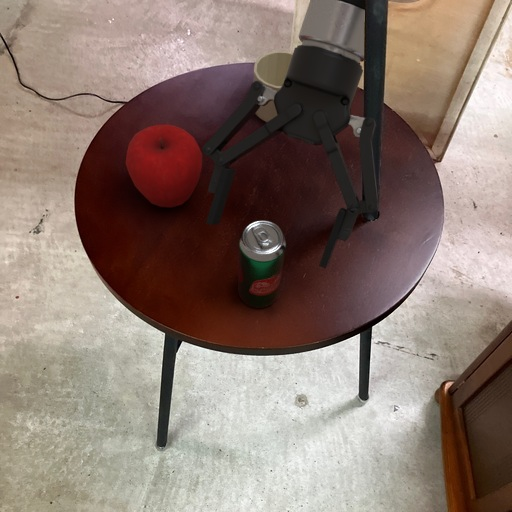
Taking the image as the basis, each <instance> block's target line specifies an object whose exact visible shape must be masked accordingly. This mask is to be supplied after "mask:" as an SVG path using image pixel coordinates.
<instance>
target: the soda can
mask: <svg viewBox="0 0 512 512" xmlns="http://www.w3.org/2000/svg"><path fill="white" fill-rule="evenodd" d="M286 248H287V240H286V236H285V234H284V233H283V231H282V229H281V228H280V227H279V226H278V225H277V224H276V223H274V222H272V221H269V220H256V221H253V222H251V223H249V224H248V225H247V226H246V227H244V229H243V231H242V232H241V233H240V235H239V238H238V270H237V271H238V274H237V284H238V285H237V292H238V293H237V294H238V297H239V298H240V300H241V301H242V302H244V304H246V305H247V306H249V307H251V308H256V309H262V308H267V307H269V306H271V305H273V304H274V303H275V302H276V301H277V299H278V298H279V295H280V288H281V283H282V275H283V269H284V262H285V257H286Z"/></svg>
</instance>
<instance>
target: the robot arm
mask: <svg viewBox="0 0 512 512" xmlns="http://www.w3.org/2000/svg"><path fill="white" fill-rule="evenodd" d="M364 21H365V0H309V3H308V5H307V9H306V12H305V14H304V18H303V21H302V24H301V27H300V30H299V33H298V36H297V37H298V40H299V41H300V42H301V44H298V45H297V46H296V47H294V49H293V52H292V53H293V55H292V58H291V61H290V64H289V68H288V71H287V74H286V77H285V80H284V83H283V85H282V87H281V88H280V90H279V91H275V90H273V89H271V88H269V87H267V86H266V85H265V84H263V83H261V82H260V81H255V82H253V81H252V84H251V86H250V88H249V90H248V93H247V95H246V97H245V99H244V100H243V102H241V104H239V106H238V107H237V108H236V109H235V110H234V111H233V113H232V114H230V115H229V117H228V118H227V119H226V121H225V122H223V123H222V125H220V127H219V128H218V129H217V130H216V131H215V133H214V134H213V135H211V137H210V138H209V139H208V140H207V141H206V142H205V143H204V144H203V146H202V148H201V152H202V154H204V155H205V156H207V157H208V158H210V159H211V160H212V161H213V165H214V167H213V169H212V173H211V177H210V180H209V184H208V186H207V188H208V193H210V194H213V198H212V202H211V204H210V208H209V211H208V215H207V219H206V220H205V221H206V222H205V224H207V225H210V226H214V225H217V224H220V222H221V220H222V217H223V213H224V210H225V206H226V203H227V201H228V196H229V194H230V190H231V187H232V184H233V180H234V177H235V174H236V171H237V170H236V169H235V168H232V167H230V166H232V164H234V163H235V162H237V161H238V160H240V159H242V157H245V156H246V155H248V154H249V153H251V152H252V151H254V150H255V149H257V148H258V147H260V146H261V145H263V144H265V143H266V142H268V141H270V140H271V139H272V138H274V137H276V136H278V135H280V134H281V133H284V135H286V137H288V138H291V139H296V140H301V141H303V142H304V143H307V144H309V145H312V146H321V145H323V148H324V151H325V153H326V155H327V157H328V160H329V163H330V165H331V168H332V170H333V173H334V176H335V178H336V181H337V183H338V186H339V189H340V192H341V194H342V197H343V200H344V203H345V205H346V208H345V207H340V208H339V210H338V212H337V215H336V217H335V220H334V223H333V225H332V229H331V232H330V234H329V237H328V240H327V242H326V245H325V248H324V251H323V253H322V257H321V259H320V261H319V265H318V267H321V268H323V269H326V268H327V267H328V266H329V264H330V261H331V259H332V255H333V253H334V250H335V248H336V245H337V243H338V240H339V241H342V242H346V241H347V240H348V239H349V238H350V237H351V233H352V231H353V229H354V225H355V223H356V221H357V218H358V216H359V215H360V214H366V213H367V214H374V213H376V212H377V211H378V209H379V196H378V195H379V194H378V186H377V185H378V184H377V178H376V177H377V175H376V167H375V159H374V147H373V139H374V134H375V130H376V125H377V122H376V121H375V119H374V117H371V116H367V117H363V116H359V115H353V114H352V111H351V108H352V104H353V101H354V98H355V95H356V93H357V90H358V87H359V85H360V81H361V78H362V75H363V73H364V70H363V66H362V64H361V63H363V62H365V61H364ZM272 100H274V105H275V108H276V111H277V116H276V117H274V118H273V119H271V120H270V121H268V122H265V123H264V124H263V125H262V126H261V127H259V128H258V129H256V130H255V131H253V132H251V133H250V134H249V135H247V136H245V137H244V138H243V139H240V140H239V141H237V142H236V143H235V144H233V145H231V146H230V147H228V148H227V149H225V150H224V151H223V149H224V148H225V147H226V146H227V145H228V144H229V142H231V140H233V138H234V137H235V136H236V134H238V133H239V132H240V130H241V129H242V128H243V127H245V125H246V124H247V123H248V122H249V121H250V120H251V119H252V117H253V116H254V115H256V114H255V113H256V112H257V111H258V109H259V108H260V106H266V105H267V104H268V102H270V101H272ZM349 126H351V127H352V132H353V135H354V136H355V137H356V138H358V143H359V144H358V147H359V156H360V166H361V174H362V184H363V191H364V200H360V198H359V196H358V194H357V191H356V188H355V185H354V183H353V180H352V178H351V175H350V171H349V168H348V167H347V164H346V161H345V158H344V155H343V153H342V150H341V147H340V144H339V140H338V139H337V135H338V134H340V133H341V132H342V131H344V130H345V129H347V128H348V127H349Z"/></svg>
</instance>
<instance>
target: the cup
mask: <svg viewBox="0 0 512 512" xmlns="http://www.w3.org/2000/svg"><path fill="white" fill-rule="evenodd" d="M292 55H293V52H292V51H284V50H275V51H270V52H269V51H268V52H266V53H265V54H262V55H261V56H259V57H258V58H257V60H256V61H255V62H254V64H253V79H252V80H253V81H252V83H253V82H255V81H260V82H261V83H263V84H265V85H266V86H267V87H269V88H271V89H273V90H275V91H279V90H280V88H281V87H282V85H283V83H284V80H285V77H286V74H287V71H288V68H289V64H290V61H291V58H292ZM254 115H256V117H258V118H259V119H261V120H262V121H264V122H265V123H267V122H268V121H270V120H271V119H273V118H274V117H276V116H277V111H276V108H275V105H274V100H272V101H270V102H268V104H267V105H266V106H260V108H259V109H258V111H257V112H256V113H255V114H254Z"/></svg>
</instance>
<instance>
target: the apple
mask: <svg viewBox="0 0 512 512" xmlns="http://www.w3.org/2000/svg"><path fill="white" fill-rule="evenodd" d="M198 144H199V143H198V142H197V141H196V139H195V137H194V136H193V135H192V134H190V133H189V132H188V131H187V130H186V129H183V128H181V127H179V126H176V125H173V124H156V125H151V126H147V127H145V128H143V129H141V130H140V131H138V132H136V133H135V134H134V135H133V136H132V138H131V140H130V141H129V143H128V146H127V151H126V158H125V166H126V169H127V172H128V175H129V177H130V179H131V181H132V183H133V185H134V187H135V188H136V189H137V191H139V193H141V195H142V196H143V197H144V198H145V199H146V200H147V201H148V202H149V203H150V204H151V205H155V206H157V207H159V208H174V207H178V206H182V205H183V204H184V203H186V202H187V201H188V200H189V199H191V196H192V194H193V193H194V192H195V189H196V187H197V185H198V183H199V181H200V177H201V174H202V169H203V152H202V150H201V148H200V146H199V145H198Z"/></svg>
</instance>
